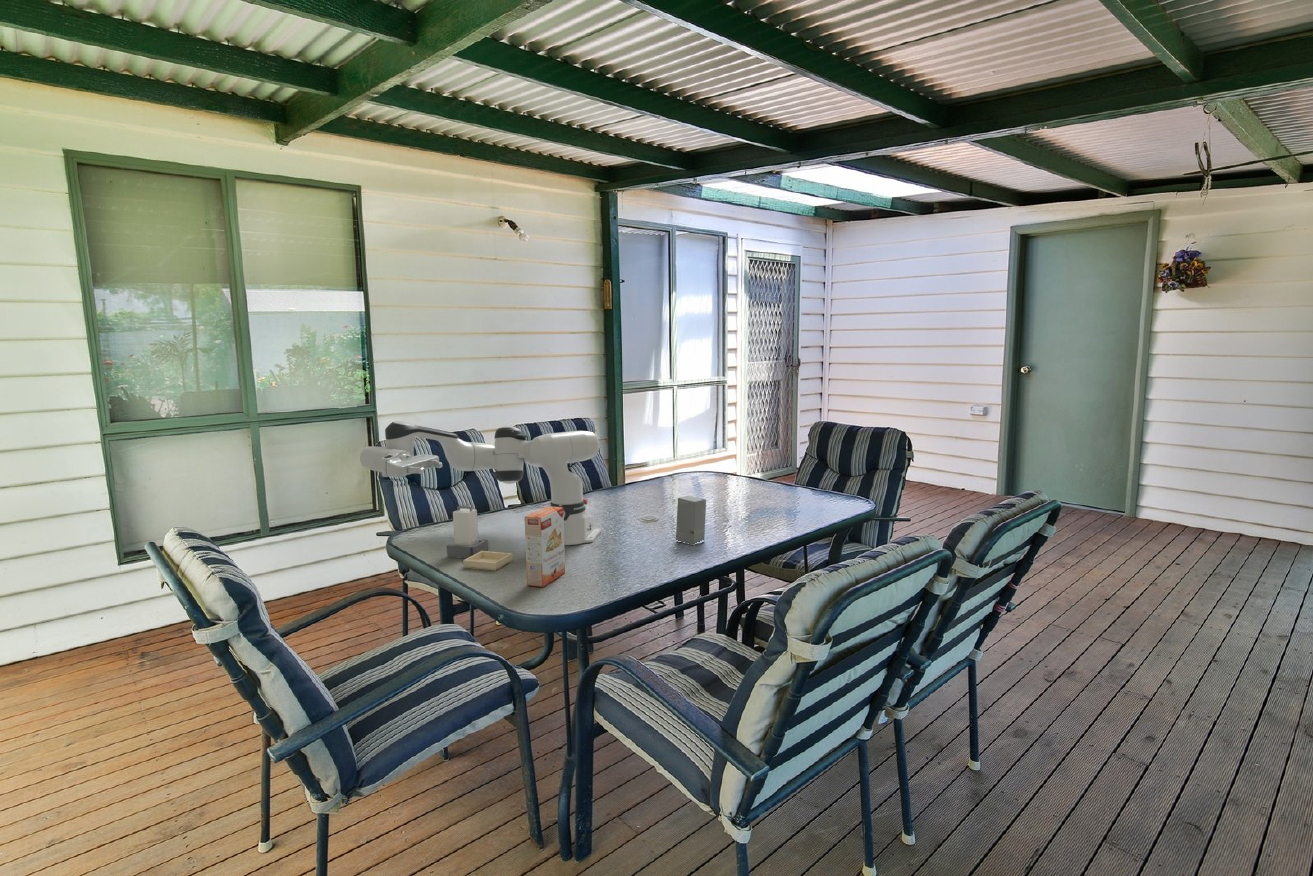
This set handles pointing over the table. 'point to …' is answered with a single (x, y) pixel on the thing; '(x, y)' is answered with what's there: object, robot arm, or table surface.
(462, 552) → the dock
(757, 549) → the table surface
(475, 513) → the white tall block
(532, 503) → the table surface
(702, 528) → the skincare box
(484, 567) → the tray
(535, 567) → the cracker box
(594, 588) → the table surface
